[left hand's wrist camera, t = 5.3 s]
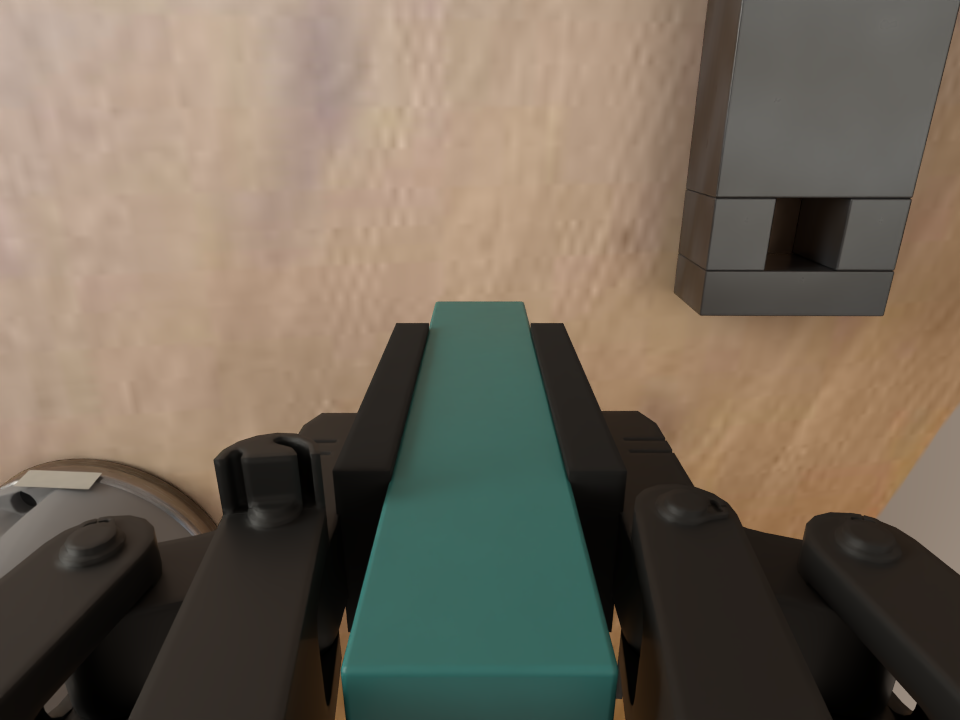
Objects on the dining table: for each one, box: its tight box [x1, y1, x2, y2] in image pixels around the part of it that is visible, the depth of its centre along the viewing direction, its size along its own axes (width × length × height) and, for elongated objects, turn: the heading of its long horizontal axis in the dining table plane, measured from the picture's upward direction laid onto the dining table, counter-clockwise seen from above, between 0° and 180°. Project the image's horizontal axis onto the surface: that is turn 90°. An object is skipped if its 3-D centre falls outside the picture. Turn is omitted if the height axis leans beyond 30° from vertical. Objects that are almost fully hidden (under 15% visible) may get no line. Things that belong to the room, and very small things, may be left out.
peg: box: [341, 302, 619, 720], centre depth 11 cm, size 2×2×12 cm
